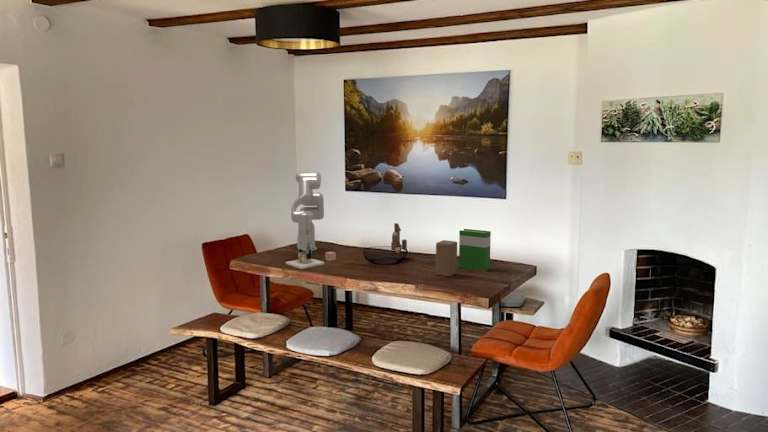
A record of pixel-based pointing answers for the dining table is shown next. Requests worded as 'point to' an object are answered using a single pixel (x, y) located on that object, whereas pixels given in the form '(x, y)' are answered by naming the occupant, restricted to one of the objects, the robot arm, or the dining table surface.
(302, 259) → the maple block
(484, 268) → the green cereal box
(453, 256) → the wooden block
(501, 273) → the dining table surface
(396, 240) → the wooden toy
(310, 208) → the robot arm
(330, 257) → the terracotta block
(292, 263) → the plate
